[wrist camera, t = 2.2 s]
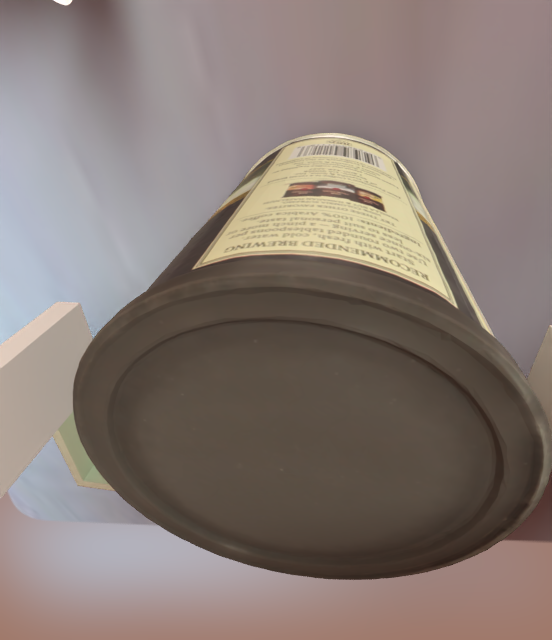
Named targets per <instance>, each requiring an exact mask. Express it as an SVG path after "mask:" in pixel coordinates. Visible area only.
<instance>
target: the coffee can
mask: <svg viewBox="0 0 552 640" xmlns="http://www.w3.org/2000/svg"><path fill="white" fill-rule="evenodd" d="M73 412H74V420H75V425H76V429H77V433H78V435H79V438H80V441H81V443H82V445H83V447H84V449H85V451H86V453H87V455H88V457H89V458H90V460H91V461H92V463H93V464H94V466H95V467H96V469H97V470H98V471H99V473H100V474H101V475H102V477H103V478H104V479H105V480H106V481H107V482H108V484H109V485H110V486H111V487H112V488H113V489H114V490H115V491H116V492H117V493H118V494H119V495H120V496H121V497H122V498H123V499H124V500H125V501H127V502H128V503H129V504H130V505H131V506H132V507H134V508H135V509H136V510H137V511H139V512H140V513H141V514H143V515H144V516H145V517H146V518H148V519H150V520H151V521H153V522H154V523H156V524H157V525H159V526H161V527H162V528H164V529H165V530H167V531H169V532H170V533H172V534H174V535H176V536H178V537H180V538H181V539H184V540H186V541H188V542H190V543H192V544H194V545H196V546H198V547H200V548H203V549H205V550H208V551H210V552H212V553H214V554H217V555H219V556H222V557H225V558H229V559H232V560H235V561H238V562H241V563H244V564H247V565H251V566H254V567H259V568H264V569H267V570H271V571H275V572H281V573H286V574H291V575H299V576H307V577H314V578H324V579H346V580H347V579H349V580H351V579H352V580H353V579H354V580H361V579H380V578H392V577H400V576H406V575H413V574H419V573H424V572H428V571H432V570H436V569H439V568H442V567H446V566H450V565H453V564H455V563H458V562H461V561H463V560H465V559H468V558H470V557H473V556H475V555H477V554H479V553H481V552H483V551H486V550H488V549H489V548H490V547H492V546H493V545H495V544H496V543H498V542H500V541H502V540H503V539H504V538H506V537H507V536H508V535H509V534H511V533H512V532H513V531H514V530H515V529H517V528H518V527H519V526H520V525H521V524H522V523H523V522H524V521H525V519H526V518H527V517H528V516H529V515H530V514H531V513H532V511H533V510H534V509H535V507H536V506H537V504H538V503H539V501H540V499H541V497H542V495H543V493H544V490H545V487H546V485H547V484H548V481H549V475H550V472H551V469H552V435H551V430H550V426H549V422H548V418H547V416H546V413H545V411H544V409H543V407H542V405H541V403H540V401H539V399H538V398H537V396H536V394H535V393H534V391H533V389H532V388H531V386H530V384H529V382H528V381H527V379H526V377H525V376H524V374H523V373H522V371H521V370H520V368H519V367H518V365H517V364H516V362H515V360H514V359H513V358H512V357H511V355H510V354H509V353H508V351H507V350H506V349H505V348H504V347H503V346H502V345H501V344H500V343H499V342H498V341H497V339H496V338H495V337H494V335H493V333H492V331H491V329H490V327H489V325H488V323H487V321H486V320H485V318H484V316H483V314H482V312H481V311H480V309H479V307H478V305H477V303H476V301H475V299H474V297H473V295H472V293H471V291H470V289H469V287H468V286H467V284H466V282H465V280H464V278H463V277H462V275H461V273H460V271H459V269H458V267H457V265H456V264H455V262H454V260H453V258H452V256H451V254H450V252H449V250H448V248H447V246H446V244H445V242H444V240H443V238H442V236H441V234H440V233H439V231H438V229H437V227H436V225H435V224H434V222H433V220H432V218H431V216H430V215H429V213H428V211H427V209H426V207H425V205H424V203H423V200H422V198H421V195H420V193H419V189H418V187H417V185H416V183H415V181H414V180H413V178H412V176H411V175H410V173H409V172H408V171H407V169H406V168H405V167H404V166H403V165H402V164H401V162H400V161H399V160H398V159H396V158H395V157H394V156H393V155H392V154H391V153H389V152H388V151H387V150H385V149H384V148H382V147H380V146H378V145H377V144H375V143H374V142H370V141H368V140H365V139H362V138H359V137H356V136H351V135H346V134H338V133H319V134H312V135H306V136H303V137H299V138H296V139H293V140H289V141H287V142H285V143H283V144H281V145H279V146H278V147H276V148H275V149H273V150H271V151H270V152H268V153H267V154H266V155H264V156H263V157H262V158H261V159H260V160H259V161H258V162H257V163H256V164H255V165H254V166H253V167H252V168H251V169H250V171H249V172H248V173H247V175H246V176H245V177H244V179H243V181H242V182H241V183H240V184H239V186H238V187H237V188H236V189H235V190H234V191H233V193H232V194H231V195H230V196H229V197H228V199H227V200H226V201H225V202H224V203H223V204H222V205H221V206H220V208H219V209H218V210H217V211H216V212H215V214H214V215H213V216H212V217H211V218H210V219H209V220H208V222H207V223H206V224H205V225H204V226H203V227H202V228H201V229H200V230H199V231H198V232H197V234H195V236H194V237H193V238H192V239H191V240H190V241H189V243H188V244H187V245H186V246H185V247H184V248H183V250H182V251H181V252H180V253H179V254H178V255H177V257H176V258H175V259H174V260H173V261H172V262H171V263H170V265H169V266H168V267H167V268H166V269H165V270H164V271H163V272H162V274H161V275H160V276H159V277H158V278H157V279H156V280H155V282H154V283H153V284H152V285H151V286H150V287H149V289H148V290H147V291H146V292H144V293H143V294H141V295H140V296H138V297H137V298H135V299H134V300H132V301H131V302H130V303H129V304H128V305H126V306H125V307H124V308H123V309H121V310H120V311H119V312H118V313H117V314H116V315H115V316H114V317H113V318H112V319H111V320H110V321H109V322H108V323H107V324H106V325H105V326H104V327H103V328H102V329H101V330H100V331H99V332H98V334H97V335H96V336H95V338H94V339H93V340H92V342H91V343H90V344H89V346H88V347H87V349H86V351H85V353H84V354H83V356H82V358H81V360H80V362H79V366H78V369H77V372H76V375H75V379H74V385H73Z"/></svg>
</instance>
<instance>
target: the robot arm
mask: <svg viewBox="0 0 552 640" xmlns="http://www.w3.org/2000/svg"><path fill="white" fill-rule="evenodd" d="M92 340H93V338H92V335H91V333H90V330H89V327H88V324H87V321H86V319H85V316H84V313H83V310H82V308H81V305H80V303H71V302H56V303H55V304H54V305H52V306H51V307H50V308H49V309H47V310H46V311H45V312H43V313H42V314H41V315H39V316H38V317H37V318H35V319H34V320H33V321H31V322H30V323H29V324H27V325H26V326H25V327H24V328H22V329H21V330H20V331H18V332H17V333H16V334H14V335H13V336H12V337H10V338H9V339H8V340H6V341H5V342H4V343H2V344H1V345H0V498H2V496H3V495H4V494H5V493H6V492H7V490H8V489H9V488H10V487H11V486H12V484H13V483H14V482H15V481H16V480H17V478H18V477H19V476H20V475H21V473H22V472H23V471H24V470H25V469H26V467H27V466H28V465H29V464H30V463H31V461H32V460H33V459H34V458H35V457H36V455H37V454H38V453H39V452H40V450H41V449H42V448H43V447H44V446H45V444H46V443H47V442H48V441H49V440H50V438H51V437H52V436H53V435H54V434H55V432H56V431H57V430H58V429H59V428H60V426H61V425H62V424H63V423H64V421H65V420H66V419H67V418H68V417H69V415H70V414H71V413H72V412H73V385H74V379H75V375H76V372H77V369H78V366H79V362H80V360H81V358H82V356H83V354H84V353H85V351H86V349H87V347H88V346H89V344H90V343H91V342H92ZM527 381H528V382H529V384H530V386H531V388H532V389H533V391H534V393H535V394H536V396H537V398H538V399H539V401H540V403H541V405H542V407H543V409H544V411H545V413H546V416H547V418H548V422H549V426H550V430H551V435H552V325H549V328H548V330H547V332H546V335H545V337H544V340H543V342H542V344H541V347H540V349H539V352H538V354H537V356H536V359H535V361H534V364H533V366H532V368H531V371H530V373H529V376H528V378H527Z"/></svg>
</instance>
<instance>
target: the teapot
mask: <svg viewBox="0 0 552 640" xmlns="http://www.w3.org/2000/svg"><path fill="white" fill-rule="evenodd" d="M54 1H55V2H57V3H60V4H62V5H69V4H70V3H71V2H72V0H54Z"/></svg>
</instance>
